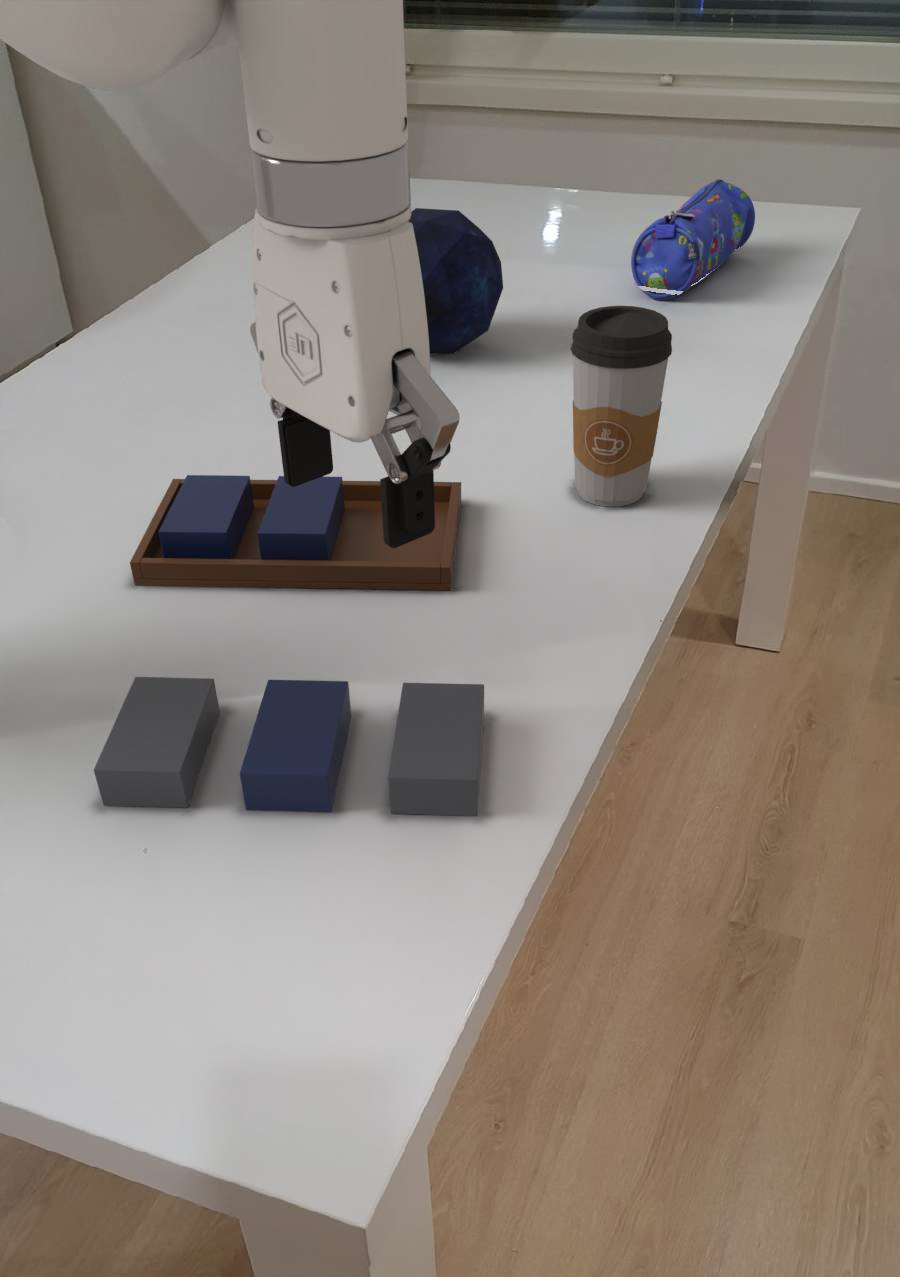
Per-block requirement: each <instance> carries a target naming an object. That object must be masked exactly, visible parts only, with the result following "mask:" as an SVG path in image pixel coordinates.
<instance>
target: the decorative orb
mask: <svg viewBox="0 0 900 1277" xmlns="http://www.w3.org/2000/svg"><path fill="white" fill-rule="evenodd" d="M408 221H409V222H410V223H412V224H413V229H414V234H415V240H416V245H417V250H418V256H419V262H420V268H421V274H422V281H423V289H424V296H425V306H426V315H427V324H428V336H429V350H430V355H431V354H432V355H434V354H436V355H437V354H438V355H439V354H440V355H443V354H444V355H445V354H446V355H454V354H456V353H457V352H459V351H460V350H462V349H463V348H466V346H468V345H469V344H471V343H472V342H474V341H475V340H477V339H478V338H479V337H481V336H483V335H484V334H485V333H487V332H488V331H489V329H490V327H491V324H492V321H493V318H494V316H495V313H496V309H497V308H498V304H499V301H500V298H501V295H502V292H503V290H504V278H503V267H502V260H501V258H500V256H499V254H498V251H497V249H496V247H495V245H494V241H493V240H491V238H490V237H488V235H487V234H486V233H485V232H484V231H483V230H482V229H481V228H480V227H479V226H478V225H476V224H475V223H474V222H473V221H471V220H470V218H468V217H467V216H466V215H465V214H464V213H462V212H461V211H460V210H455V209H439V208H438V209H437V208H423V207H422V208H421V207H415V208H414V209H413V210H411V217H410V219H409V220H408Z"/></svg>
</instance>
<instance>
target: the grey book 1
mask: <svg viewBox="0 0 900 1277" xmlns="http://www.w3.org/2000/svg"><path fill="white" fill-rule="evenodd" d="M220 715H221V710H220V704H219V698H218V694H217V688H216V682H215V678H213V677H212V678H211V677H210V678H208V677H207V678H205V677H165V676H164V677H163V676H161V677H157V676H135V677H134V678H133V681H132V683H131V686H130V687H129V690H128V692H127V694H126V696H125V699H124V701H123V704H122V705H121V708H120V710H119V712H118V714H117V716H116V719H115V721H114V723H113V726H112V728H111V730H110V733H109V734H108V737H107V739H106V741H105V744H104V745H103V748H102V750H101V752H100V755H99V757H98V759H97V761H96V763H95V766H94V768H93V773H94V776H95V780H96V783H97V787H98V790H99V794H100V798H101V802H102V805H103V806H108V807H109V806H111V807H113V806H114V807H141V808H142V807H144V808H145V807H146V808H148V807H149V808H184V809H187V808H189V805H190V802H191V799H192V797H193V794H194V790H195V788H196V785H197V782H198V780H199V776H200V774H201V770H202V768H203V764H204V762H205V759H206V756H207V752H208V750H209V747H210V743H211V741H212V738H213V735H214V732H215V730H216V727H217V724H218V721H219V718H220Z"/></svg>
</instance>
